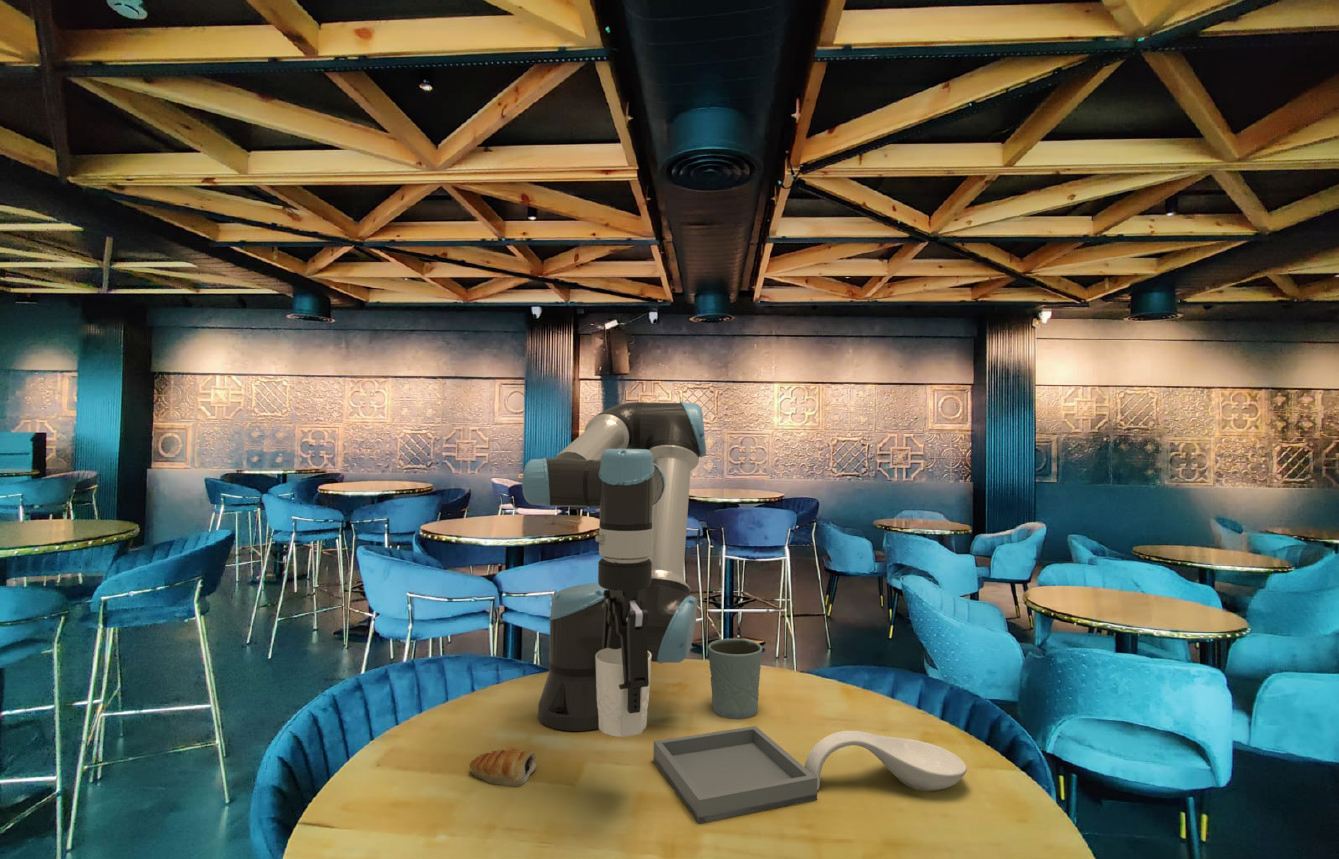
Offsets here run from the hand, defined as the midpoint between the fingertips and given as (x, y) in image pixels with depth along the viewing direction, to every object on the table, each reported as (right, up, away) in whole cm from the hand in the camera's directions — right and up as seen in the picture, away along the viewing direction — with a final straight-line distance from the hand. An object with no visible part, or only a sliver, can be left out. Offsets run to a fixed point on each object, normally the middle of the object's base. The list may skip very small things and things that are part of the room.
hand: (622, 721), depth 89 cm
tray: (+16, -11, +5) cm, 20 cm away
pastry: (-18, -11, +5) cm, 21 cm away
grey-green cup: (+19, -12, +31) cm, 38 cm away
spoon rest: (+39, -12, +5) cm, 41 cm away
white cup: (0, -1, 0) cm, 1 cm away
